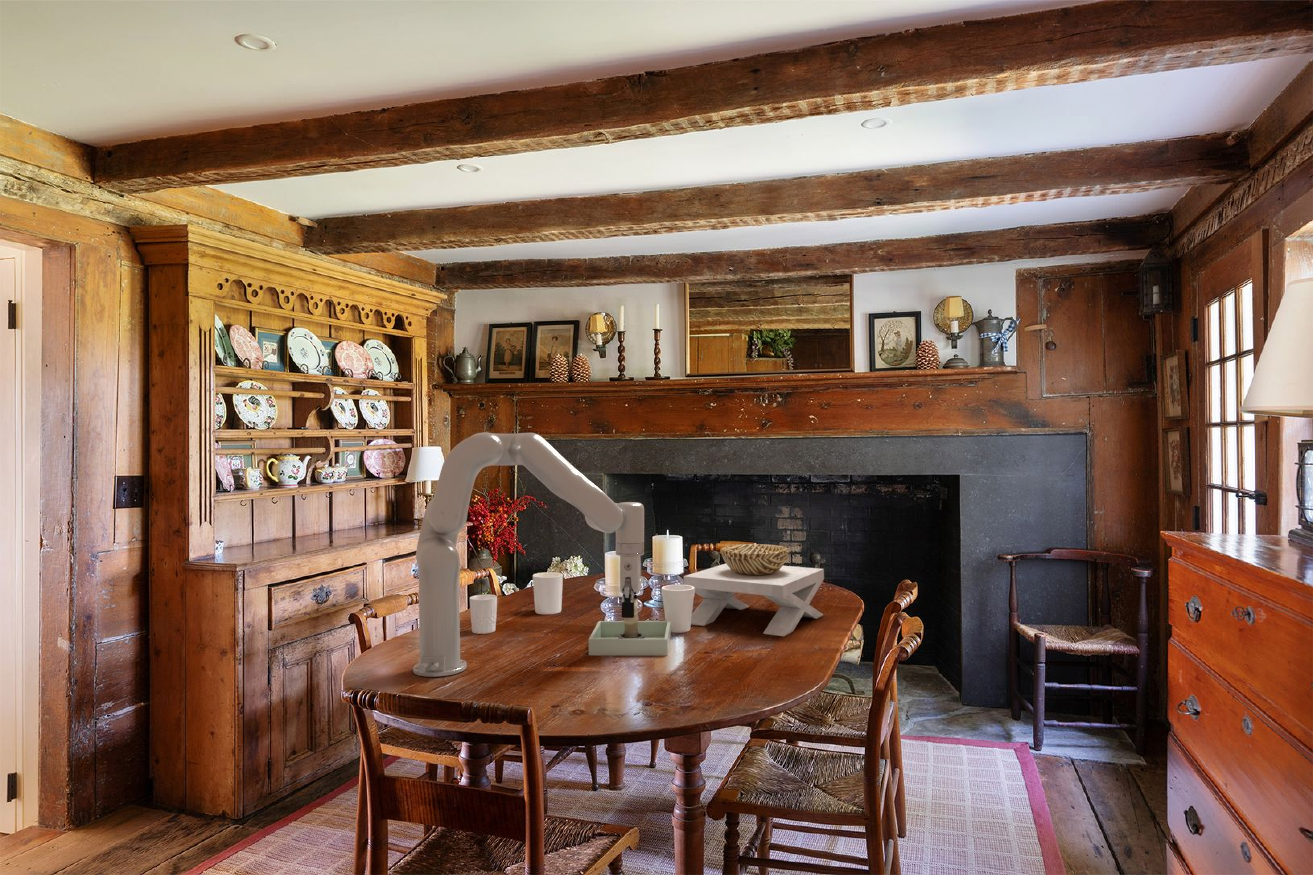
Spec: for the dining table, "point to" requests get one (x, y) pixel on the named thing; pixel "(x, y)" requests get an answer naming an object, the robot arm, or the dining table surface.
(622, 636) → the wick clip
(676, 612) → the foam cup
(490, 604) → the white cup
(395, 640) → the dining table surface
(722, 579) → the grey stool with basket
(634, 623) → the wick peg
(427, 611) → the robot arm
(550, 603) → the candle holder
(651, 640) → the pale green rectangular tray
